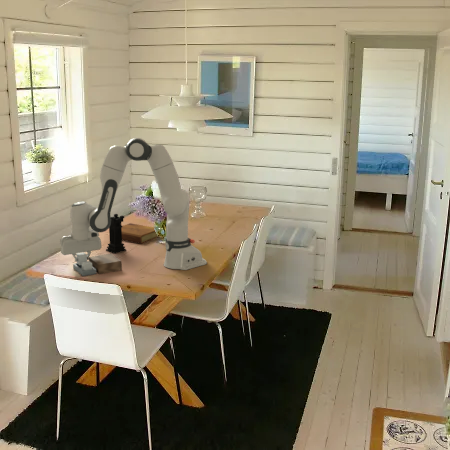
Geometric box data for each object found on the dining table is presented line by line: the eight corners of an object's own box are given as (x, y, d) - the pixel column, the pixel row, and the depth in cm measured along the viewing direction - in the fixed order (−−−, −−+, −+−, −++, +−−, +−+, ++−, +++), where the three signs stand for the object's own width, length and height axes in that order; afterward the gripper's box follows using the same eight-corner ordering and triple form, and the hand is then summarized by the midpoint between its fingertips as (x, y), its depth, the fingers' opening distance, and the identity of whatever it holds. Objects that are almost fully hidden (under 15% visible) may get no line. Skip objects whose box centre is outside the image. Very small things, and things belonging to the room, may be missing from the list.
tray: (86, 266, 302) (86, 261, 302) (96, 274, 291) (96, 269, 290) (73, 268, 299) (73, 263, 298) (82, 276, 287) (82, 271, 287)
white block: (84, 261, 300) (84, 252, 298) (87, 263, 296) (86, 254, 295) (76, 263, 298) (76, 253, 296) (79, 265, 294) (79, 255, 293)
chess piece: (126, 250, 328) (125, 215, 323) (114, 253, 323) (113, 218, 317) (117, 247, 334) (116, 213, 328) (106, 250, 328) (104, 215, 323)
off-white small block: (89, 270, 295) (89, 261, 293) (92, 272, 291) (92, 263, 290) (82, 271, 293) (81, 262, 291) (84, 274, 289) (84, 264, 288)
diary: (110, 239, 352) (110, 229, 351) (130, 232, 368) (130, 223, 366) (141, 244, 341) (140, 235, 339) (160, 237, 356) (160, 228, 355)
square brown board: (111, 262, 308) (110, 253, 307) (121, 270, 297) (121, 260, 296) (89, 266, 302) (88, 257, 301) (99, 274, 291) (98, 264, 289)
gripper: (61, 238, 285) (63, 265, 289) (102, 232, 296) (103, 258, 299) (57, 235, 290) (59, 262, 294) (97, 229, 301) (98, 255, 304)
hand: (82, 260), depth 297 cm, fingers closed on white block, 4 cm apart
